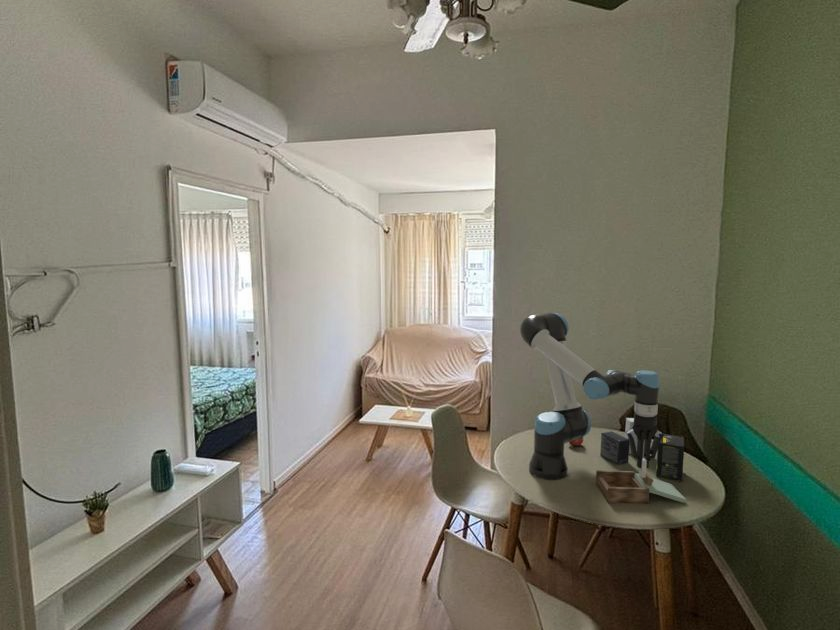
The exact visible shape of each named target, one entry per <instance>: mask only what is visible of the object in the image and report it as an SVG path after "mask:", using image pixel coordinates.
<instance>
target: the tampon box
mask: <svg viewBox="0 0 840 630" xmlns="http://www.w3.org/2000/svg"><path fill="white" fill-rule="evenodd" d="M663 434H664V436H663V438H662V439H661V441H660V444H659V447H658V450H657V453H656V467H655V476H656V477H657V478H662V479H668V480H673V481H676V480H677V482H681V481H682V482H683V475H684V474H683V473H684V472H683V471H684V469H683V468H684V457H685V437H684V436H679V435H673V434H666V433H663Z"/></svg>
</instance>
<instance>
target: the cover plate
mask: <svg viewBox="0 0 840 630" xmlns="http://www.w3.org/2000/svg"><path fill="white" fill-rule="evenodd" d="M634 477H635V478H636V479H637V480H638V482H639V483H640V484H641V485H642V486H643V488H649V493H652V494H654V495H658V496H661V497H663V498H666V499H670V500H673V501H676V502H680V503H682V504H685V502H686V500H687V499H686V498H685V497H684V496H683V495H682V493H680V492H679V490H677V489H676V487H675V486H674V485H673V484H672V483H669V482H666V481H663V480H660V479H656V478H653V477H651V475H650V474H649V473H648V472H647V471H646V478H641V476H640V475H639V473H637V472H635V476H634Z"/></svg>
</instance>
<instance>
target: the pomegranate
mask: <svg viewBox="0 0 840 630" xmlns="http://www.w3.org/2000/svg"><path fill="white" fill-rule="evenodd" d="M568 443H569V445H571V446H573V447H576V446H577V447H578V446H581V445H582V444H583V443H584V437H582V438H580V439H576V440H573V441H570V442H568Z"/></svg>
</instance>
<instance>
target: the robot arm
mask: <svg viewBox="0 0 840 630" xmlns="http://www.w3.org/2000/svg"><path fill="white" fill-rule="evenodd" d="M569 329H570V326H569V323H568V321H567V319H566V318H565V316H563V315H562V314H560V313H557V312H546V313H538V314H531V315H529V316H526V317H525V318H524V319H523V321H522V322H521V324H520V330H519V332H520V335H521V338H522V340H523V341H524V342H525V343H526V344H527V345H528V346H529V347H530V348H531V349H533V350H534V351H535V350H536V351H537V350H538V351H539V352H541V354H543V355H544V357H545V359H544V360H545V363H546V367H547V371H548V376H549V379H550V381H549V382H550V384H551V389H552V393H553V398H554V402H555V406H554V408H553V411H549V412H548V411H545V412H542V413H540V414H538V415H537V416H536V417H535V421H534V427H533V429H534V440H533V441H534V445H533V447H534V448H533V449H534V450H533V454H532V456H531V459H530V462H529V464H528V465H529V467H528V470H530V471H531V472H530V471H529V472H530V474H532V473H533V474H534V475H533V474H532V475H533V476H535V475H536V477H537V476H538V477H537V478H540V477H541V478H540V479H543V478H544V479H545V480H553V481H556V480H561V479H564V478H566V477H567V476H568V472H569V470H568V469H569V468H568V465H567V462H566V458H565V444H567V443H569V442H570V441H573V440H576V439H580V438H582V437H583V438H584V437H586V436H587V435H588V434H589V433H590V431H591V428H592V420H591V416H590V415H589V414H588V413H587V411H586V410H584V409H583V406H582V404H581V403H579V402H578V401H577V397H576V393H575V390H574V389H575V388H574V385H573V384H574V383H573V380H575V381H576V382H577V383H579V384H580V385H581V387H582V386H583V392H584V393H585V395H586V397H587V398H589V399H591V400H602V399H605V398H608V397H611V396H613V395H614V396H615V395H618V394H622V393H623V394H628V395H632V396H634V409H633V411H634V414H633V418H634V426H633V427H632V430H630V431H629V432H628V431H626V435H627V436H628V439H629V444H630V448H631V453H632V454H631V456H632V457H633V458H634V459H636V467H637V468H638V474H639V475H640V476H641V478H646V472H647V469H649V467H650V462H651V460H654V459H655V458H656V457H657V451H658V447H659V444H660V441H661V439H662V438H663V436H664V434H665V433H662V432H661V431H659V430H658V428H657V424H658V416H657V415H658V410H659V409H658V408H659V407H658V405H659V389H660V376H659V373H657V372H656V371H652V370H646V369H645V370H643V369H641V370H638V371H636V373H629V372H626V371H625V372H624V371H621V370H617V369H615V370H614V369H609V370H607V371H606V372H605V373H604V375H603V374H602V373H600V372H599V371H598V370H596V369H595V368H593V367H592V366H591V365H590V364H589V363H587V362H585V361H584V360H583V359H582V358H580V357H579V356H578V355H577V354H575V352H573V351H571V350H570V349H569V348H567V346H565V344H566V343H567V338H566V337H567V335H568V333H569ZM572 379H573V380H572ZM634 433H635V434H636V436H637V451H636V446H635V441H634V438H633V437H634ZM653 437H654V438H653ZM644 440H645V443H644ZM643 443H644V455H643Z"/></svg>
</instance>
